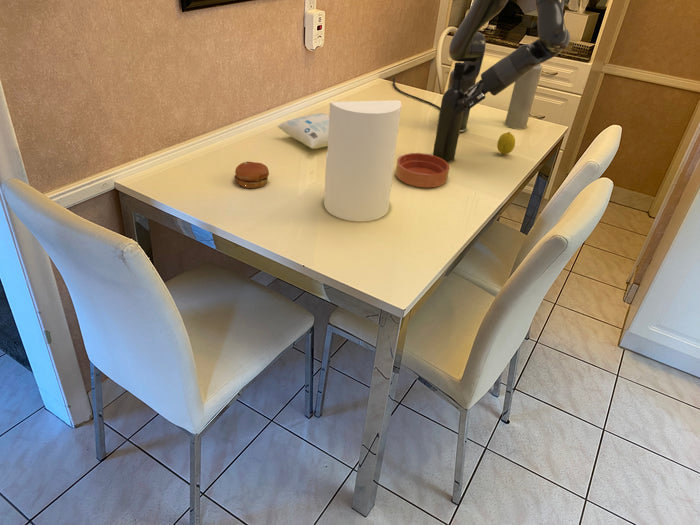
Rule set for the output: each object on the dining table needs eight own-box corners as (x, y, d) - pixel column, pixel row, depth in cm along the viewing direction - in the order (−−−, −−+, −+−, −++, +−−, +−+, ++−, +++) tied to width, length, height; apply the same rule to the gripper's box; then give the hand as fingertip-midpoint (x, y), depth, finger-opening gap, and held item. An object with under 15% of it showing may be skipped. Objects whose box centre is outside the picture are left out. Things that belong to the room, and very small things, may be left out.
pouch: (311, 134, 158) (360, 120, 169) (275, 117, 170) (323, 104, 181) (312, 158, 163) (359, 143, 174) (277, 140, 175) (323, 127, 186)
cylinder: (397, 218, 135) (412, 112, 119) (333, 224, 131) (339, 114, 115) (376, 188, 149) (387, 89, 133) (317, 192, 144) (321, 90, 128)
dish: (385, 171, 159) (387, 157, 156) (425, 163, 166) (427, 150, 163) (415, 193, 148) (417, 178, 145) (457, 183, 155) (460, 169, 152)
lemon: (512, 159, 173) (518, 136, 168) (495, 157, 174) (500, 133, 169) (511, 153, 177) (517, 130, 173) (494, 150, 178) (500, 128, 174)
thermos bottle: (505, 120, 205) (524, 44, 189) (526, 123, 203) (546, 48, 187) (504, 126, 199) (522, 49, 183) (525, 130, 197) (546, 52, 181)
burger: (253, 192, 142) (252, 176, 139) (227, 182, 146) (226, 166, 143) (276, 180, 149) (276, 164, 146) (251, 171, 153) (250, 156, 150)
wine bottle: (441, 154, 172) (458, 59, 155) (455, 160, 169) (473, 64, 152) (430, 158, 169) (446, 62, 152) (444, 164, 166) (462, 67, 149)
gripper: (494, 59, 156) (449, 92, 164) (493, 70, 144) (445, 105, 153) (508, 79, 158) (463, 111, 166) (508, 92, 146) (459, 126, 155)
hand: (454, 108), depth 159 cm, fingers open, 8 cm apart
